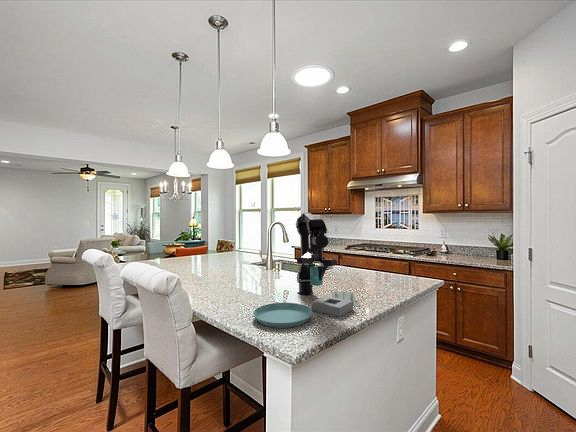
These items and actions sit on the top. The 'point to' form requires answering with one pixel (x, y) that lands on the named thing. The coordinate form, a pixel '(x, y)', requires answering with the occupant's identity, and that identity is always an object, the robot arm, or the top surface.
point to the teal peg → (315, 276)
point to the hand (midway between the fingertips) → (316, 280)
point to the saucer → (282, 314)
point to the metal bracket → (346, 296)
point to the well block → (332, 306)
